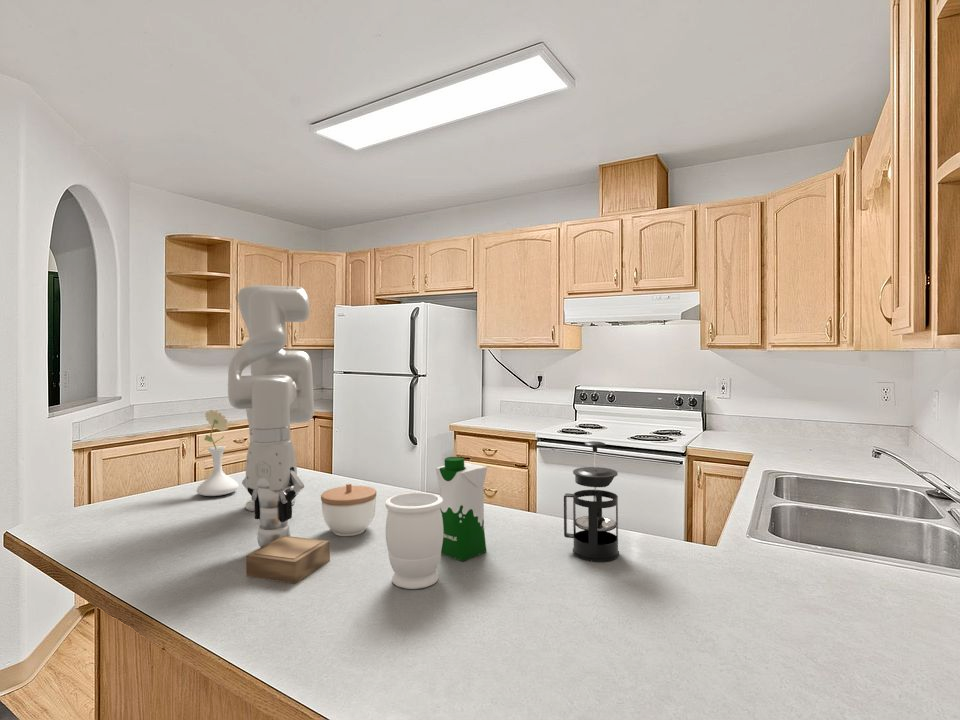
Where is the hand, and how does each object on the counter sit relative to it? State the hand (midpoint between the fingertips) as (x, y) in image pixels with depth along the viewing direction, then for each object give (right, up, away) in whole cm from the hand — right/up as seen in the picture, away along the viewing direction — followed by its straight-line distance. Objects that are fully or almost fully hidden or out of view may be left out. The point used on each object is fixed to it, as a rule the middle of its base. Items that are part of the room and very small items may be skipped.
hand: (273, 518), depth 116 cm
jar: (+33, -7, -16) cm, 37 cm away
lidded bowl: (+14, -6, +11) cm, 19 cm away
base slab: (+7, -7, -10) cm, 14 cm away
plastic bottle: (0, -7, 0) cm, 7 cm away
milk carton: (+41, -6, -3) cm, 42 cm away
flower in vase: (-34, -6, +45) cm, 56 cm away
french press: (+68, -6, -5) cm, 68 cm away
